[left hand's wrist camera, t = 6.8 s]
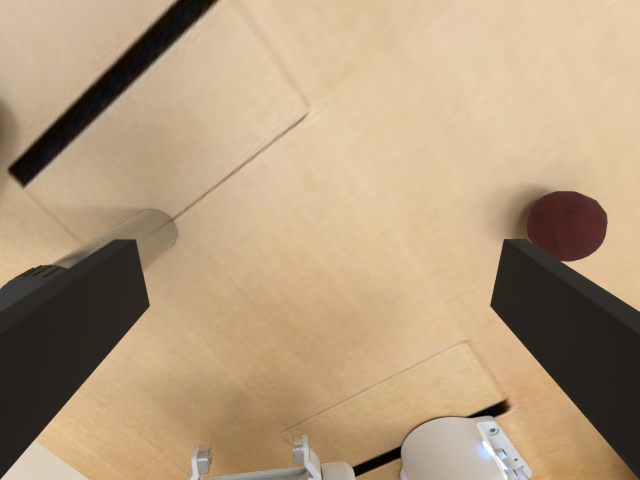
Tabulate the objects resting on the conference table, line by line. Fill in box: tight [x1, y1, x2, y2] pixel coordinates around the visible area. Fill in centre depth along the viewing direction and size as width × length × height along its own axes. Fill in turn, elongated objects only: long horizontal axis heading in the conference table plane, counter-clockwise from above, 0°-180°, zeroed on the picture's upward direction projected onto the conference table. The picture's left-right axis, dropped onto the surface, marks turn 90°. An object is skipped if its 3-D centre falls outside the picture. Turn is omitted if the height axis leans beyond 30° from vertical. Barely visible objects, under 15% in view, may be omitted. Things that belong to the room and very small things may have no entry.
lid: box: [0, 265, 68, 312], centre depth 25 cm, size 6×6×2 cm
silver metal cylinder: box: [50, 209, 177, 272], centre depth 33 cm, size 5×5×18 cm
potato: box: [527, 191, 608, 262], centre depth 37 cm, size 7×8×7 cm
